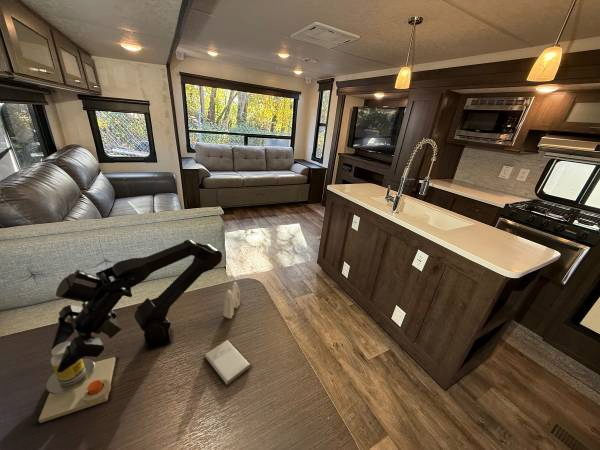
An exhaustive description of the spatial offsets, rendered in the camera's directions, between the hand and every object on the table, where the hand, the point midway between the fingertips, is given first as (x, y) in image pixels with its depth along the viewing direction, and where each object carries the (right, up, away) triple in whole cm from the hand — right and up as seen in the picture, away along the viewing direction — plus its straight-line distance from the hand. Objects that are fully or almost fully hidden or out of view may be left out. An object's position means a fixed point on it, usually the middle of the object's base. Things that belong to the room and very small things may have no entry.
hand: (56, 360), depth 62 cm
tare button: (+8, -9, +2) cm, 12 cm away
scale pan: (0, -7, +4) cm, 8 cm away
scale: (+3, -10, +4) cm, 11 cm away
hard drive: (+39, -9, +15) cm, 43 cm away
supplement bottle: (0, -6, +4) cm, 7 cm away
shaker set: (+35, 0, +35) cm, 49 cm away
